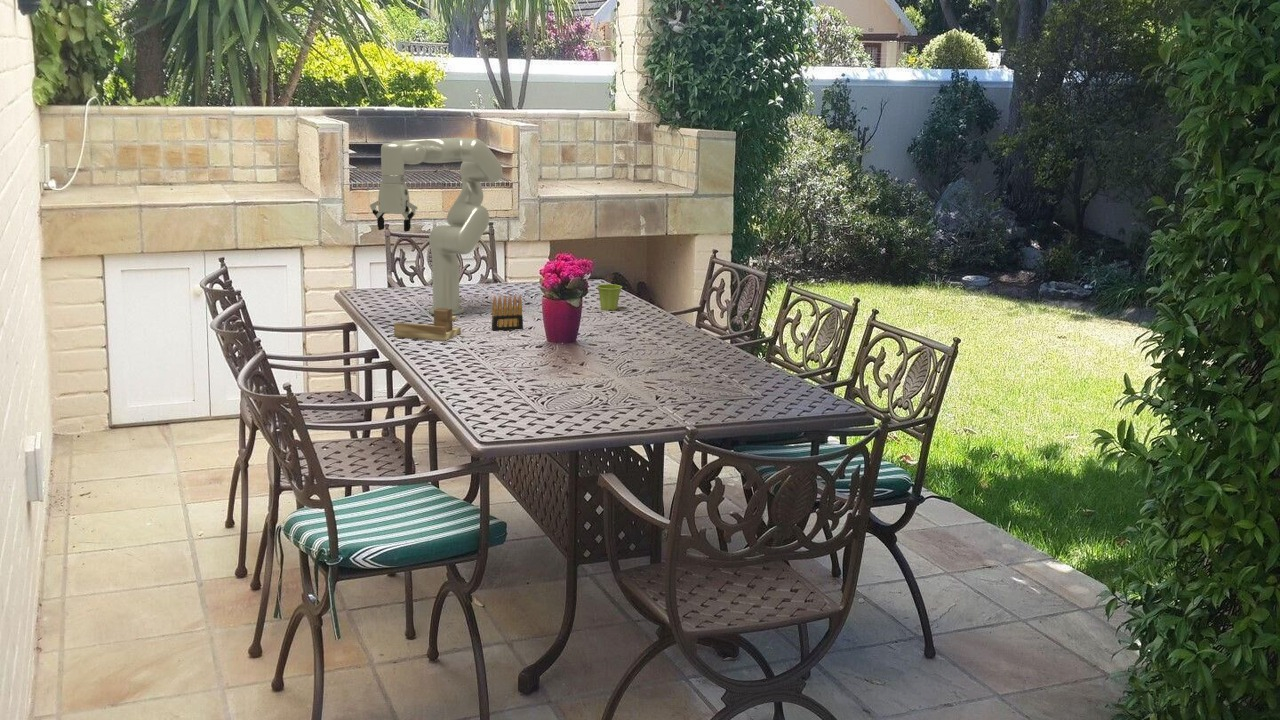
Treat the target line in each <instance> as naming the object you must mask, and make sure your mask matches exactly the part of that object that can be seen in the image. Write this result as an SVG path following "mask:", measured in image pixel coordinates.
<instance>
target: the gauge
mask: <svg viewBox="0 0 1280 720" xmlns="http://www.w3.org/2000/svg"><path fill="white" fill-rule="evenodd" d="M456 321H457V315H452V309H450V308H438V309H436V310H434V314H433V325H434V326H442V327H446V332H448V331H450V330H452V327H453V322H456Z"/></svg>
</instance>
